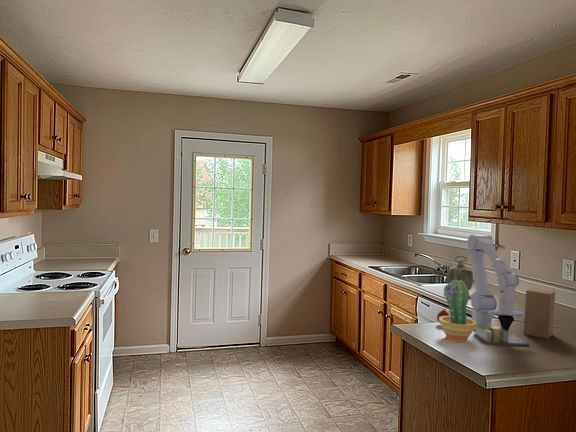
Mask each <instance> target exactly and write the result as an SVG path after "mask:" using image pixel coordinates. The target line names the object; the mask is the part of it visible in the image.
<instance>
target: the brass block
mask: <svg viewBox="0 0 576 432" xmlns="http://www.w3.org/2000/svg"><path fill="white" fill-rule="evenodd" d="M498 326H499V325H497V326H496V325H495V324H492V325H487V329H488V330H489V331H491V332H492V336H491V340H493V341H501V339H502V329H501V328H502V327H500V326H499V327H500V328H499V327H498Z"/></svg>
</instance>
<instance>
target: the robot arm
mask: <svg viewBox="0 0 576 432" xmlns="http://www.w3.org/2000/svg"><path fill="white" fill-rule="evenodd" d="M466 243H467V249H468V253H469V256H470V257H469V258H470V261H471V270H472V272H473V282H474V286H475V291H474V292H473V293H472V294H471V301H470V304H471V307H472V309H473V311H472V312H471V319H472V320H474V321H476V322H477V324H476V325H481V326H483V327H484V328H486V329H487V325H493V322H492V321H493V320H492V319H493V317H495V316H496V317H497V319H498V321H499V323H500V328H502V329H504V330H506V331H507V332H509V330H510V327H511V325H512V324H513V322H514V321H515V317H518V318H519V317H520V318H525V312H523V311H517V310H515V297H516V296H515V294H516V287H518V286H519V282H520V279H519V276H518V274H517V273H516V272H514V271H512V270H511V269H510V267H509V266H508V264H507V262H506V261H505V260H504V259H503V258H500V256H499V253H498V252H497V250H496V248H495V246H494V245H495V240H494V239H493V237H492V235H490V234H472V233H471V234H470V235H469V236H468V238H467V241H466ZM485 254H486V255H487V257H488V258H489V260H490V261H491V268H492V269H493V270H494V272H495V274H496V276H497V279H496V280H497V284H498V290H499V302H498V301H497V299H496V297H495V294H494V292H492V291H491V290H490V289H489V285H488V284H489V283H488V281H487V280H488V279H487V273H486V269H485V264H484V263H485V262H484V257H483V256H484V255H485ZM497 307H498V308H497ZM473 331H475V332H476V327H475V328H474V329H473Z"/></svg>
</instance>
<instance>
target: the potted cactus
mask: <svg viewBox="0 0 576 432" xmlns="http://www.w3.org/2000/svg"><path fill="white" fill-rule="evenodd" d="M443 293H444V294H443V296H444V297H445V299H446V301H447V305H448V308H449V315H450V316H442V317H439V322H438V323H439V324H440V323H441V324H440V325H441V329H442V332H443V333H444V335H445V339H446V338H447V339H446V340H448V339H449V340H448V341H451V340H452V341H451V342H455V341H456V342H455V343H467V342H468V340H469V339H468V338H469V337H470V336H471V335H472V333H473V331H474V328H475V327H476V324H477V322H476V321H474V320H472V318H468V317H467V305H468V302H469V296H470V290H468V288H467V286H466V285H465V283H464V282H463V281H462V280H460V281H458V280H455V281H454V280H452V282H451V283H449V284H446V285H445V286H444V288H443Z"/></svg>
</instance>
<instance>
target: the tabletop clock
mask: <svg viewBox="0 0 576 432" xmlns="http://www.w3.org/2000/svg"><path fill="white" fill-rule="evenodd" d="M458 258H464V259H465V260H464V261H463V260H457V259H458ZM454 259H455V261H456V262H457V264H456V266H449V267H448V268H447V273H446V285H448V284H449V283H451V282H452V280H454V281H455V280H458V281H460V280H462V281H463V282H464V283H465V285H466V286H467V288H468V290H469V291H470V290H471V289H472V287H473V282H474V275H473V269H472V268H471V269H470V268H468V267H466V266H465V264H464V263H466V262H467V257H466V256H463V255H458V256H456V257H455V258H454Z"/></svg>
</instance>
